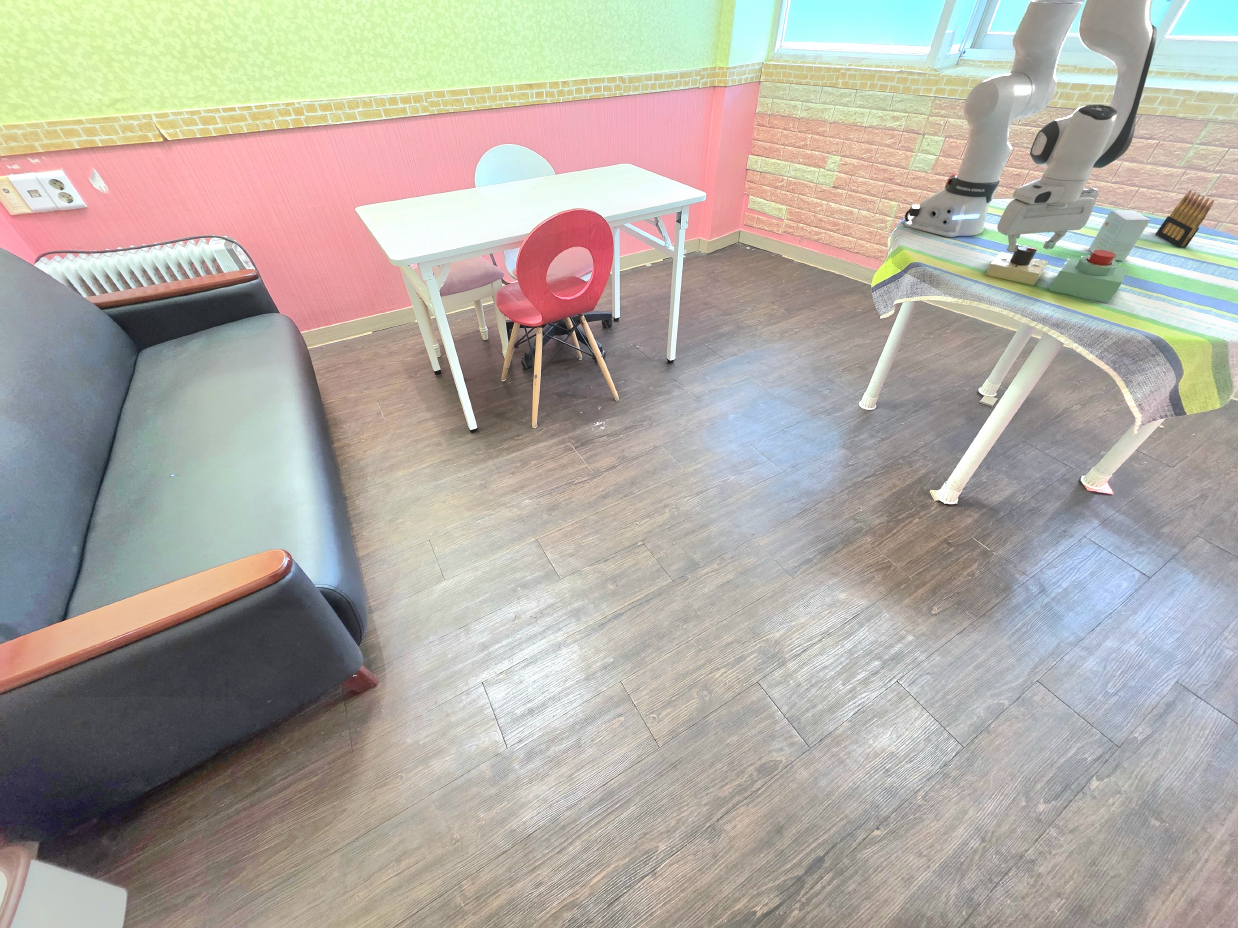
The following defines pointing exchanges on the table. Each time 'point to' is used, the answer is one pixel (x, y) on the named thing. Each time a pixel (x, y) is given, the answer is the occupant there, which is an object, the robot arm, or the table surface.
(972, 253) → the table surface
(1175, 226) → the ammunition clip
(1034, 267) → the panel
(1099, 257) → the button
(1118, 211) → the small box
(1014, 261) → the knob
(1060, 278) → the green push button box
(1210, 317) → the table surface
